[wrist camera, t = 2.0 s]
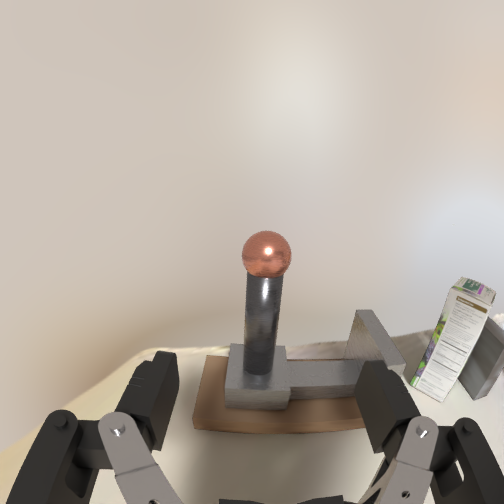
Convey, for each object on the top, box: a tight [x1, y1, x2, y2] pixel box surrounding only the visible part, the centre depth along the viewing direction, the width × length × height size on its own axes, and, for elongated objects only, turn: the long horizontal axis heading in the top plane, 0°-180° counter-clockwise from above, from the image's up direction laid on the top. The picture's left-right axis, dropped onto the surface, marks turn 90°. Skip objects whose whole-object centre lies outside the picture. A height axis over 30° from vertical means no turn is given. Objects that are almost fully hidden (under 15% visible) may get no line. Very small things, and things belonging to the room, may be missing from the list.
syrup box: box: [410, 277, 496, 402], centre depth 26 cm, size 6×6×14 cm
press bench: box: [193, 317, 504, 434], centre depth 27 cm, size 38×10×9 cm, turn 89°
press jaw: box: [225, 231, 407, 410], centre depth 25 cm, size 16×10×17 cm, turn 89°
